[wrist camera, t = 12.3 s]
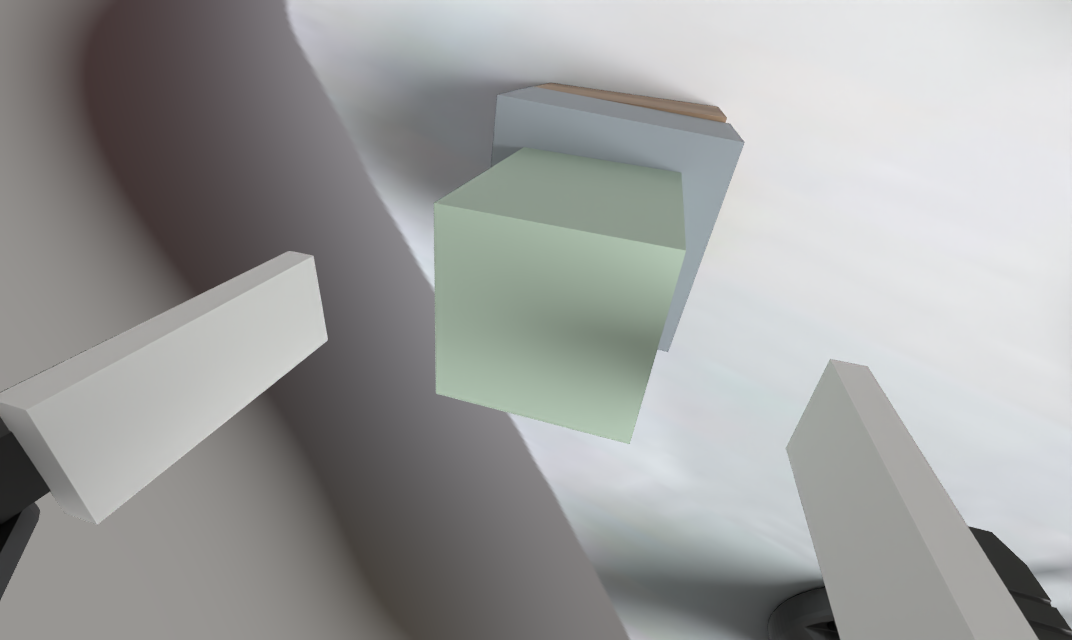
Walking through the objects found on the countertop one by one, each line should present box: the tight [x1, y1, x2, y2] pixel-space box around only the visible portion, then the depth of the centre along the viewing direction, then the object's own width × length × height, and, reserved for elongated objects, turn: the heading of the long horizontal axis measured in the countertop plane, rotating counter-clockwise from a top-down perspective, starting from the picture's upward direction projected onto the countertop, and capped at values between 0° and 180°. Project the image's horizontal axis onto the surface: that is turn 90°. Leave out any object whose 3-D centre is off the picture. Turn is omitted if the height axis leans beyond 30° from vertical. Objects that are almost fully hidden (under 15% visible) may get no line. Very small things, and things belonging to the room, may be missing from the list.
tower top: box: [491, 86, 744, 352], centre depth 21 cm, size 9×9×5 cm
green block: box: [434, 147, 686, 444], centre depth 16 cm, size 6×6×8 cm
